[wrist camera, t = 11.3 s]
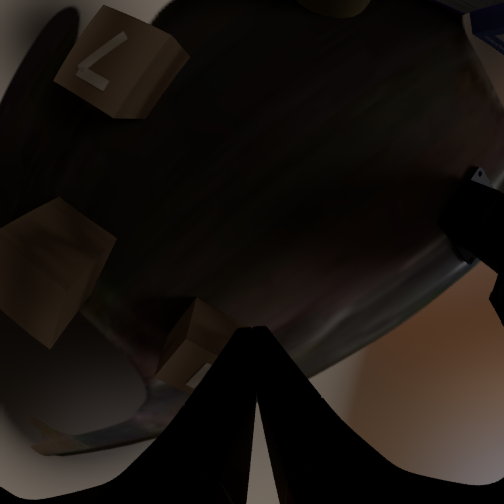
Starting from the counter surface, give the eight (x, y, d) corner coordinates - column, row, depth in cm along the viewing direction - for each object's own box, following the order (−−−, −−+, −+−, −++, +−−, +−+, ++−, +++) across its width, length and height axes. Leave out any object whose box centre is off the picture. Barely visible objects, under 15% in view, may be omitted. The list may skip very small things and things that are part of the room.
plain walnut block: (117, 238, 20) (66, 290, 13) (92, 292, 22) (50, 349, 15) (59, 196, 18) (-5, 231, 11) (41, 253, 20) (-11, 298, 13)
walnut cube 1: (249, 327, 23) (249, 372, 19) (215, 361, 25) (210, 405, 20) (197, 296, 22) (185, 339, 17) (167, 335, 24) (153, 378, 19)
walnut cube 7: (190, 57, 15) (170, 34, 10) (144, 120, 17) (111, 120, 12) (134, 28, 14) (102, 4, 9) (93, 88, 15) (51, 82, 11)
